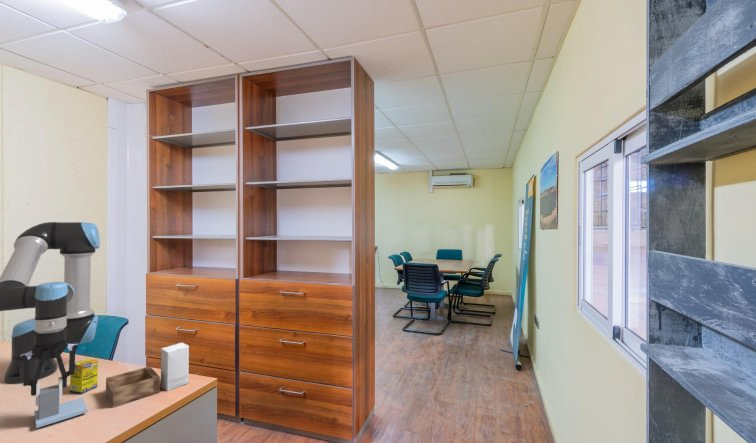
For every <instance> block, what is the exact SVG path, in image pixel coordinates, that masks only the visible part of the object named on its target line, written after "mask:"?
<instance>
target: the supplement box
mask: <svg viewBox="0 0 756 443" xmlns="http://www.w3.org/2000/svg"><path fill="white" fill-rule="evenodd" d="M98 372H99V359H97V358H90V357H86V358H84V359H82V360H79V361H75V372H74V374H73V375H70V376H69V393H70V394H71V393H72V394H78V395H82V394H84V393H87V392H89V391H91V390H93V389H96V388H97V387H98V375H99V373H98Z"/></svg>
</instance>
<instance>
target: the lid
mask: <svg viewBox="0 0 756 443" xmlns="http://www.w3.org/2000/svg"><path fill="white" fill-rule="evenodd" d="M59 391H60V390H59V386H58V384H54V385H51V386H46V387H44V388H40V400H39V405H38V406H37V407H38V409H37V410H34V412H33V413H34V415H33V416H34V421H35V428H36V429H38V428H42V427H44V426H47V425H50V424H55V423H57V422H61V421H64V420H67V419H70V418H73V417H76V416H79V415H82V414H86V413H88V407H87V405H86V402H85V400H84V397H83V396H82V397H79V398H75V399H72V400H68V401H65V402H61V403H60V400H59Z"/></svg>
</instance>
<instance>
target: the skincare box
mask: <svg viewBox="0 0 756 443" xmlns="http://www.w3.org/2000/svg"><path fill="white" fill-rule="evenodd" d="M189 351H190V345H188V344H187V343H184V342H178V343H175V344H172V345H169V346H165V347H161V349H160V359H161V360H160V387H161V388H162V387H163V388H162V389H164V390H166V391H167V392H169V391H171V390H174V389H176V388H179V387H181V386H184V385H186V384H187V385H188V384H189V370H190V368H189V364H190V362H189V361H190V359H189V358H190V357H189V356H190V352H189Z"/></svg>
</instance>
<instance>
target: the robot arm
mask: <svg viewBox="0 0 756 443" xmlns="http://www.w3.org/2000/svg"><path fill="white" fill-rule="evenodd" d="M100 241H101V239H100V233H99V229H98V226H97V225H96V224H95V223H93V222H84V221H81V222H80V221H79V222H77V221H76V222H74V221H72V222H71V221H70V222H69V221H67V222H65V221H62V222H60V221H58V222H56V221H53V222H52V221H48V222H47V221H46V222H41V223H39V224H37V225H34V226H32V227H30V228H28V229H26V230H24V231H23V232H21V234H20V235H18V236H17V238H16V239H15V240H14V243H13V249H14V250H13V252H12V254H11V256H10V258H9V260H8V261H7V263H6V265H5V267H4V269H3V271H2V273H1V275H0V312H5V311H6V312H7V311H16V310H24V309H34V318H32V319H27V320H23V321H21V322H19V323H17V324H15V325H14V326H13V328H12V332H11V357H10V358H11V359H10V363H9V365H8V367H7V369H6V371H5V374H4V381H5V383H6V384H22V386H23V387H27V386H29V387H30V396H31V397H33V396H35V407H38V405H39V400H40V389H41V384H40V381H39V380H40V379H43V378H46V377H48V376H50V375H53V374H54V373H56V371H57V370H58V369H57V368H59V371H60V374H61V376H59V377H58V381H57V382H58V383H57V385H58V386H59V390H60V391H59V401H60V400H63V388H66V387H67V386H68V385H67V384H68V377H70V375H73V374H74V372H75V362H76V352H77V349H78V346H79V345H81V344H85V343H90V342H92V341H93V340H94V338H95V336H96V330H97V327H98V324H99V323H98V322H99V315H98V314H95V311H94V310H93V309H92V308H91V268H92V266H91V262H92V260H91V259H92V256H93V255H94V254H95V253H96V250H97V249H99V248H100V247H101V242H100ZM48 250H59V254H60V255H61V256H62V257H63V258H64V262H63V263H64V268H63V269H64V272H63V274H64V275H63V278H64V279H63V281H64V282H63V281H51V282H50V281H49V282H44V283H40V284H37V285H29V284H30V282H31V279H32V277H33V276H34V272H35V270H36V267H37V266H38V263H39V261H40V259H41V256H42V255H43V254H45V253H46V252H47V251H48ZM66 349H67V350H68V351H69V354H68V355H69V356H68V357H69V358H68V370H67V371H66V368H65V365H64V361H63V358H62V354H63V352H64V351H65V350H66ZM38 381H39V382H38Z"/></svg>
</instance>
